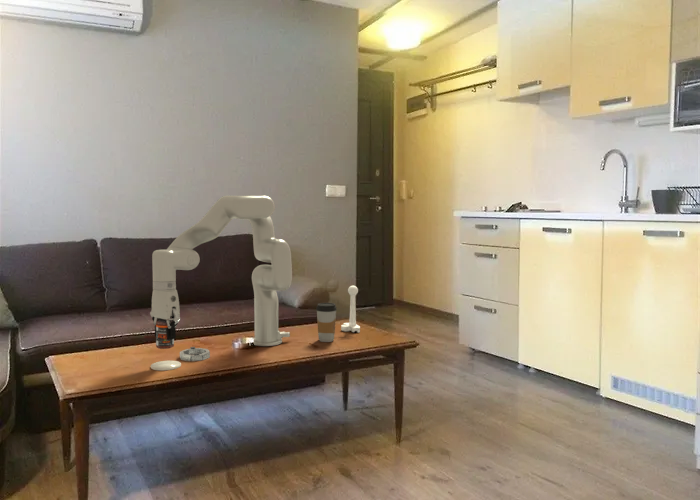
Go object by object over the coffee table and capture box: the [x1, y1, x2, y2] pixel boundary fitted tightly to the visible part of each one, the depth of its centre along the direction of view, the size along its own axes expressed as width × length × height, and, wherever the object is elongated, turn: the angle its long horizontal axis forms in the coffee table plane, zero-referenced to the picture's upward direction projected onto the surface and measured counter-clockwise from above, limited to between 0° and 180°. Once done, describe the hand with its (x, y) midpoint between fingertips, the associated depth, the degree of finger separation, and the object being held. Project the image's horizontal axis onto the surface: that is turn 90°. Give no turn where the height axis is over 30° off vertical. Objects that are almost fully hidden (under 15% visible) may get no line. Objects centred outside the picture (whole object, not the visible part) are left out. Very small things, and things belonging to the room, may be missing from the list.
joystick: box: [340, 285, 361, 333], centre depth 258 cm, size 11×8×20 cm
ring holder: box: [179, 346, 211, 362], centre depth 214 cm, size 10×10×3 cm
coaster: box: [150, 360, 182, 372], centre depth 202 cm, size 10×10×1 cm
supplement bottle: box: [155, 317, 175, 350], centre depth 201 cm, size 6×6×11 cm
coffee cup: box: [316, 302, 337, 343], centre depth 240 cm, size 8×8×15 cm
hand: (165, 337), depth 201 cm, fingers closed on supplement bottle, 6 cm apart
